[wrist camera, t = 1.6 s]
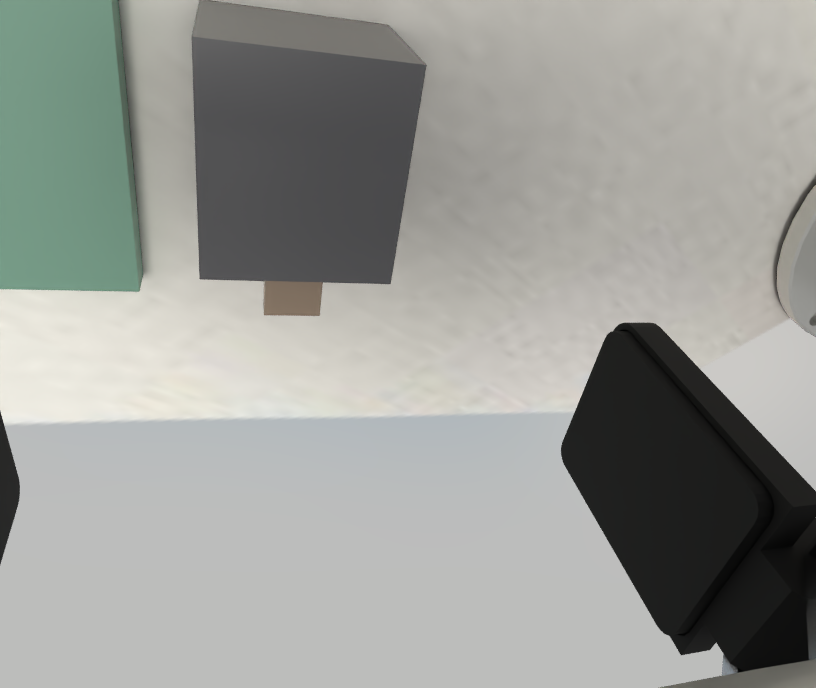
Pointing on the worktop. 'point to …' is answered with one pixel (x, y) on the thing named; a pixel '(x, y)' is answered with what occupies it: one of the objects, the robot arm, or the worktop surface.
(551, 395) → the worktop surface
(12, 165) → the header board
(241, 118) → the block
